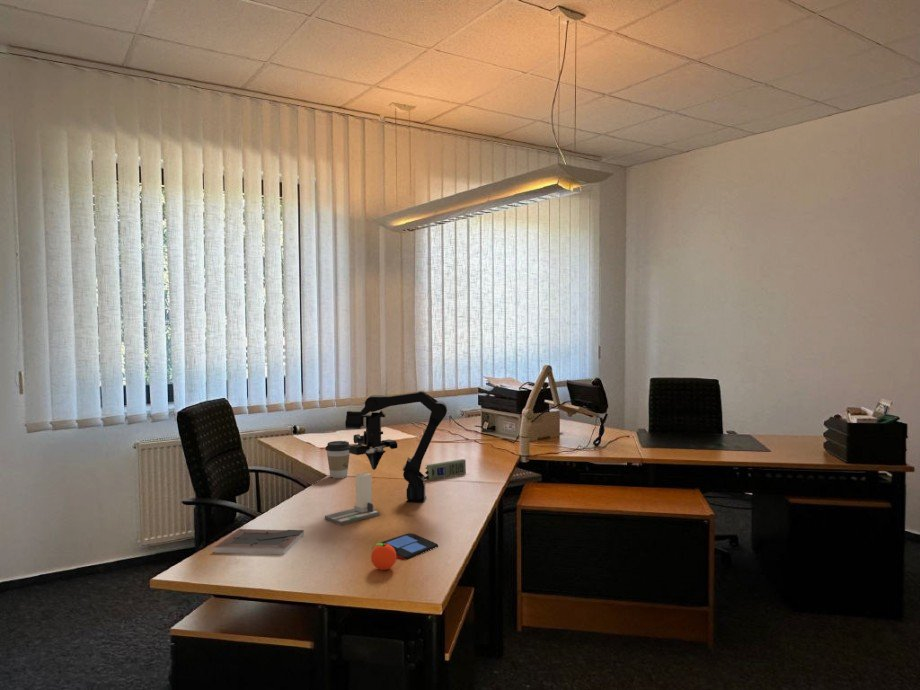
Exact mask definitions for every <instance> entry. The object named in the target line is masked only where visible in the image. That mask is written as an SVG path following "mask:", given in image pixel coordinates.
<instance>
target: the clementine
mask: <svg viewBox="0 0 920 690" xmlns="http://www.w3.org/2000/svg"><path fill="white" fill-rule="evenodd" d="M371 549H372V552H371V555H370V559H371V562H372V563H371V564H372V565H373V567H374V568H377V569H378V570H381V571H385V570H389V569H391V568H392V567H393V566H394V565H395V563H396V560H397V557H396V551H395V549H394V548H393V547H392V546H391V545H389V544H385V543H384V544H383V543H381V542H378V543H376V544H375V545H372V547H371Z"/></svg>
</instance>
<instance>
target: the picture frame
mask: <svg viewBox="0 0 920 690" xmlns="http://www.w3.org/2000/svg"><path fill="white" fill-rule="evenodd" d="M304 533H305V530H304V529H259V528H258V529H253V528H252V529H249V528H248V529H247V528H238V529H237V530H235V531H234V532H233V533H231V534H230V535H229V536H228V537H226V538H224V540H222V541H220V542H219V543H218V544H216V545H215V546H214V547H213V552H214V553H221V554H227V553H228V554H253V555H255V554H257V555H258V554H260V555H286V554H287V553H288V551H290V550H291V549H292V548H293V547H294V546H295V545H296V544H297V543H298V542H299V540H301V539H302V538H303V537H304V535H305V534H304Z"/></svg>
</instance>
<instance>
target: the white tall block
mask: <svg viewBox="0 0 920 690" xmlns="http://www.w3.org/2000/svg"><path fill="white" fill-rule="evenodd" d="M372 479H373V477H372V474H371V473H368V472H367V473H366V472H363V473H361V472H360V473H358V474H355V496H356V497H355V505H353V507H354V508H353V509H354V510H356V511H359V512H361V513H364V512H368V511H370V512H373V510H375V505H374V504H373V481H372Z"/></svg>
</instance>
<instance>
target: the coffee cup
mask: <svg viewBox="0 0 920 690" xmlns="http://www.w3.org/2000/svg"><path fill="white" fill-rule="evenodd" d="M350 446H352V445H351V444H350V443H349V441H347V440H335V441H330V442H328V443H327V445H326V446H325V448H324V449H325V451H326V456H327V462H328V463H327V465H328V468H329V469H328V470H329V475H330V478H331V477H333V478H332V479H335V478H339V479H344V478H343V477H345V478H347V477H346V476H348V474H349V473H348V471H349V464H350V463H349V461H350V454H351V453H349V448H350Z"/></svg>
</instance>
